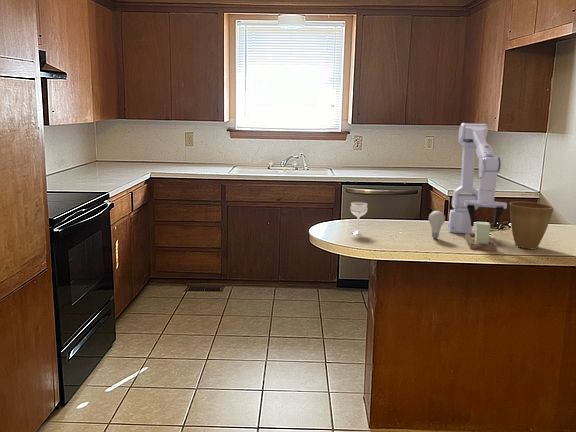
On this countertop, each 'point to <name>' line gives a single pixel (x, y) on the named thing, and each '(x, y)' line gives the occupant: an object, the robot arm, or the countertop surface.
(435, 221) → the lightbulb
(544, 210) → the plant pot
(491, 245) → the pocket rack
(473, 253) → the countertop surface
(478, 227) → the green block
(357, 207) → the wineglass
